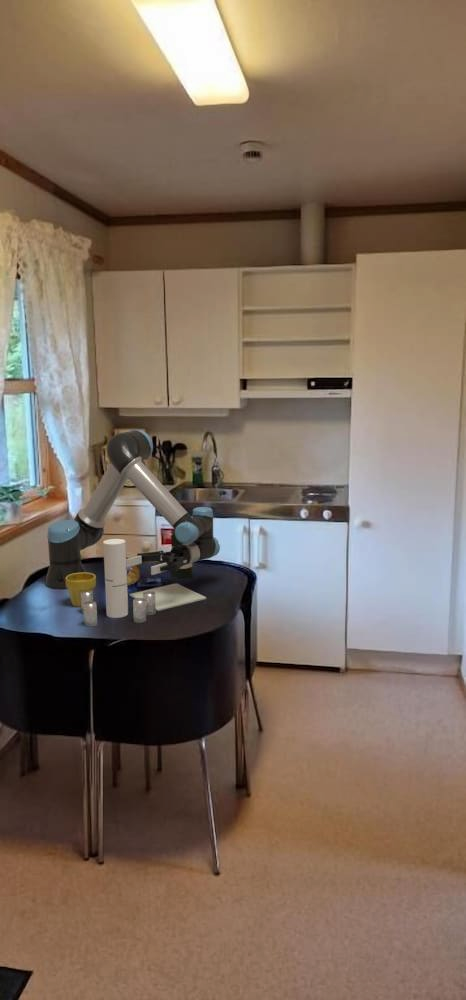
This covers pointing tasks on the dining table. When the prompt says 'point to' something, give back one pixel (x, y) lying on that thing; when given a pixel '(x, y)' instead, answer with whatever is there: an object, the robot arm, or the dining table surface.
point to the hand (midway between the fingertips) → (138, 567)
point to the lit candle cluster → (139, 607)
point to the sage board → (171, 596)
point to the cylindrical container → (115, 578)
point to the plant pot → (79, 585)
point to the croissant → (133, 575)
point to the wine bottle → (185, 570)
